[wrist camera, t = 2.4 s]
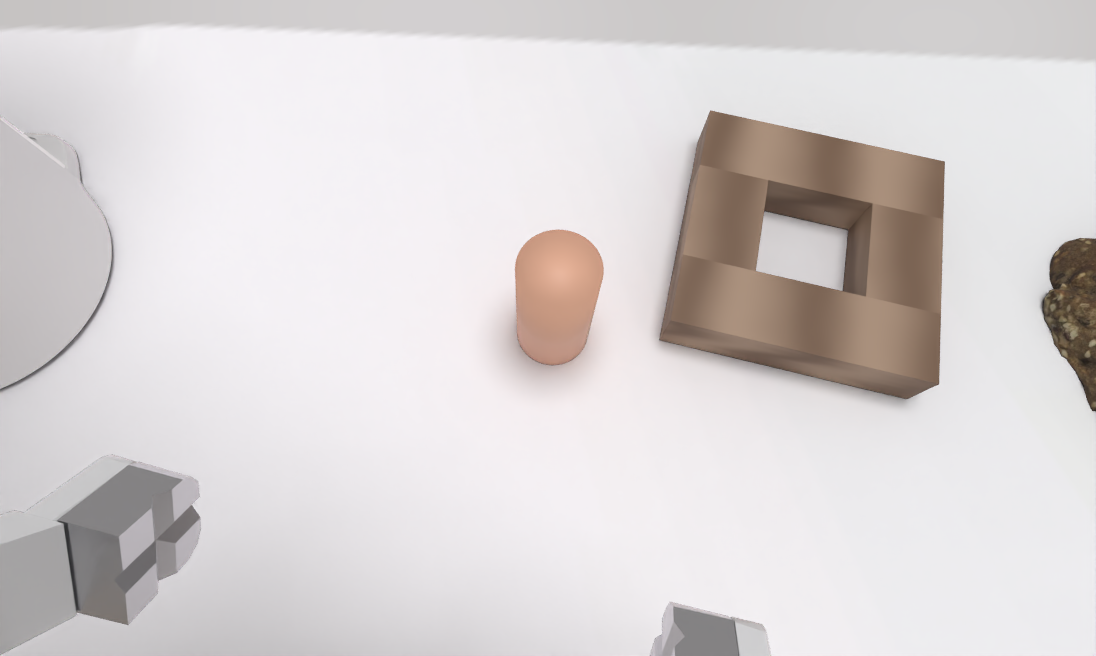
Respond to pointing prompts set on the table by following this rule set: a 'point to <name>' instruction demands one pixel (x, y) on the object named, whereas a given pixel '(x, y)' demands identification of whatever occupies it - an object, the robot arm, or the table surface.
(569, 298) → the pin
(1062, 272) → the bread roll
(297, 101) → the table surface
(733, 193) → the pin board
